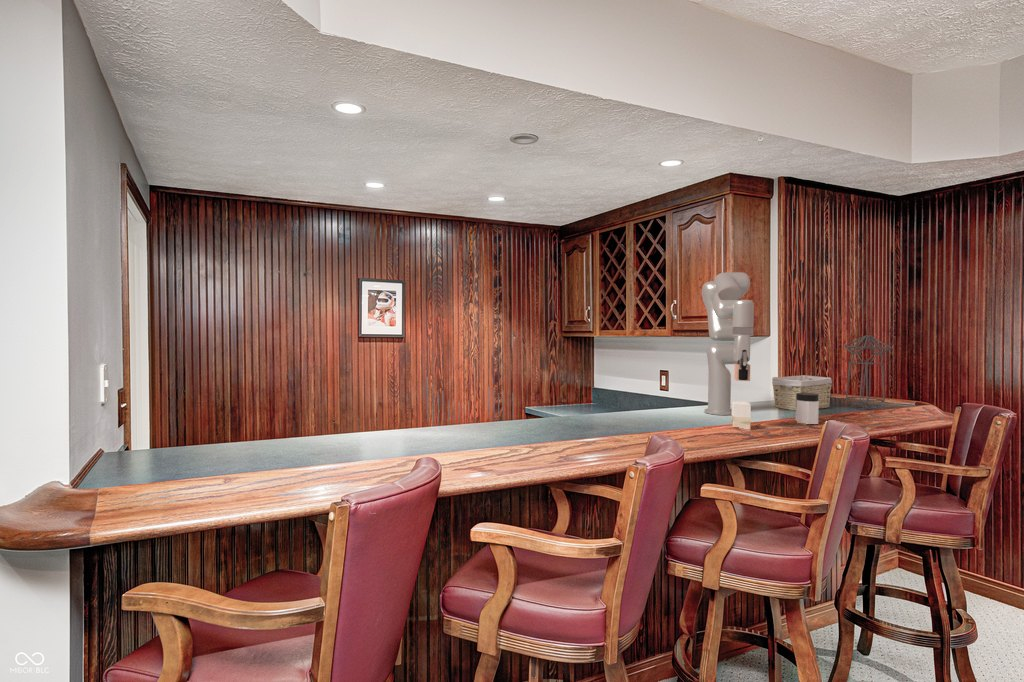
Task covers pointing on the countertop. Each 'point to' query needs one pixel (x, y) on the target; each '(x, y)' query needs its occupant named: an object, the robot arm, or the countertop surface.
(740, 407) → the middle block
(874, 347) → the geometric lantern
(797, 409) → the jar
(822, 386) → the storage basket
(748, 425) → the base block
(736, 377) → the top block
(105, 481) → the countertop surface
